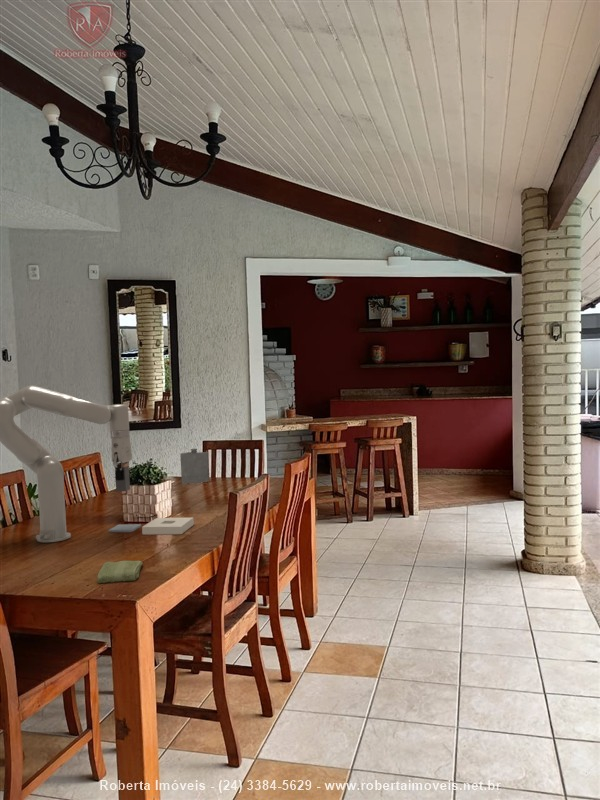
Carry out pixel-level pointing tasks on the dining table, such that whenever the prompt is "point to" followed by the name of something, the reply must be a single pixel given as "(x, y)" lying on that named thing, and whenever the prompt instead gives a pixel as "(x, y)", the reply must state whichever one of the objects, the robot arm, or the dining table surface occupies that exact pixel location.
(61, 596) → the dining table surface
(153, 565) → the dining table surface
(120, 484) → the plug
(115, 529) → the mat
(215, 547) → the dining table surface
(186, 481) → the hip flask
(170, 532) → the white square slab
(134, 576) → the washcloth
